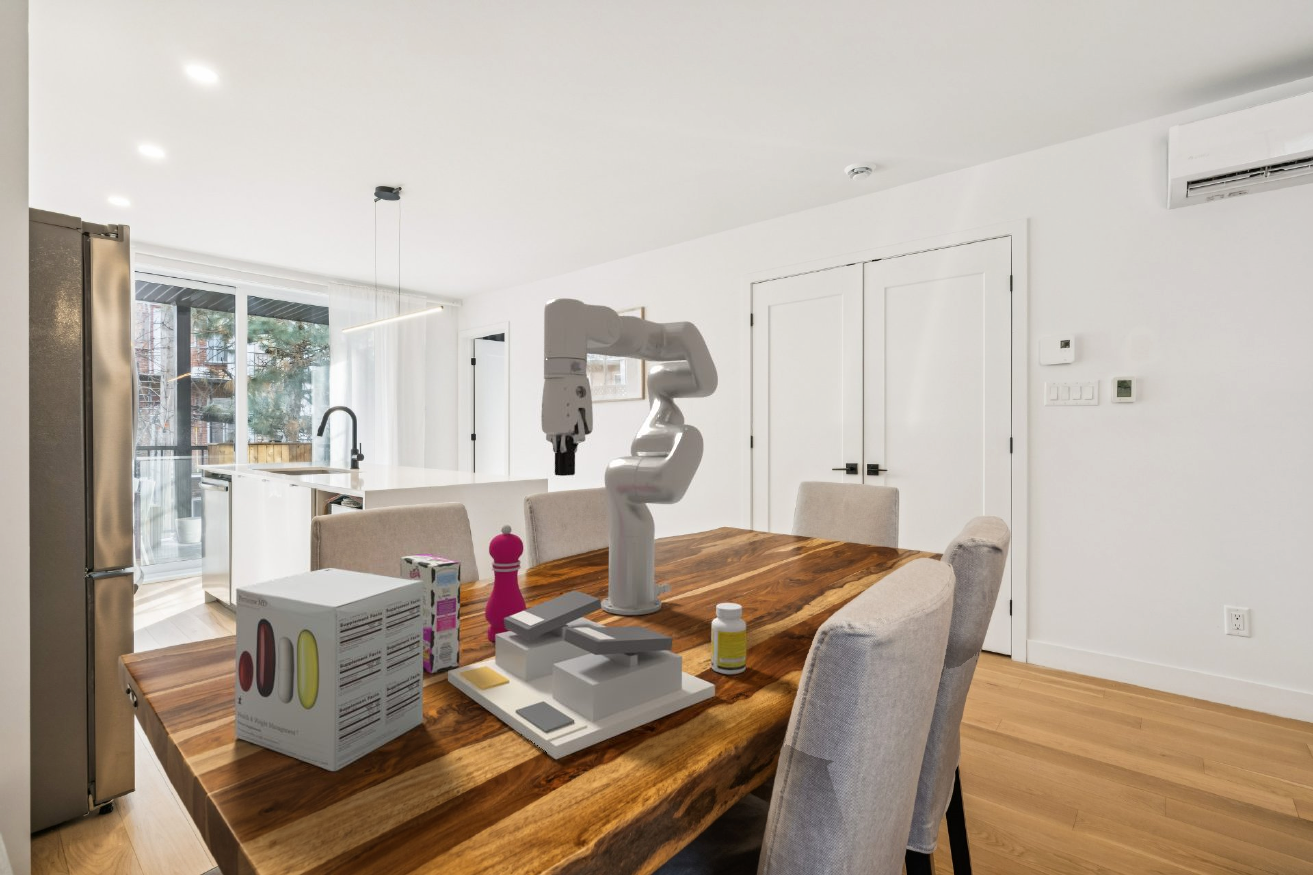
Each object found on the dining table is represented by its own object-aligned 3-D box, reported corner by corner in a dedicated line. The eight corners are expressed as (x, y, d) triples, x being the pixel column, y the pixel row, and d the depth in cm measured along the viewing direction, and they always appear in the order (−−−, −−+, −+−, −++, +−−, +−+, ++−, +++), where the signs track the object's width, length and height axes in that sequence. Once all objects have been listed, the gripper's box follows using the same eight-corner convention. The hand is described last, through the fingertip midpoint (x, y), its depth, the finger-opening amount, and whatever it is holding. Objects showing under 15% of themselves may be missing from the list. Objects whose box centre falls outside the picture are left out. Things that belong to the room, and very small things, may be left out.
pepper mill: (531, 631, 114) (532, 522, 114) (519, 644, 107) (519, 528, 107) (493, 629, 115) (494, 521, 115) (478, 642, 108) (479, 527, 108)
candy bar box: (461, 666, 97) (462, 561, 97) (431, 675, 93) (432, 566, 93) (427, 649, 105) (427, 551, 105) (397, 656, 101) (398, 555, 101)
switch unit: (592, 642, 109) (592, 599, 109) (714, 695, 87) (715, 641, 87) (446, 681, 91) (446, 630, 91) (553, 760, 69) (553, 693, 69)
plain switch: (638, 637, 91) (640, 624, 91) (671, 649, 85) (673, 636, 86) (564, 640, 82) (566, 627, 82) (595, 655, 77) (597, 640, 77)
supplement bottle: (753, 670, 96) (753, 607, 96) (725, 678, 93) (726, 612, 93) (731, 660, 101) (731, 599, 101) (704, 666, 98) (704, 604, 98)
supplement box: (229, 741, 73) (230, 587, 73) (329, 697, 85) (330, 566, 85) (333, 774, 66) (334, 605, 66) (426, 722, 78) (427, 579, 78)
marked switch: (576, 599, 103) (574, 589, 102) (601, 608, 97) (600, 597, 97) (505, 628, 94) (503, 617, 94) (529, 640, 89) (527, 628, 89)
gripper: (608, 369, 107) (607, 476, 107) (560, 375, 118) (559, 472, 118) (571, 366, 102) (570, 478, 102) (525, 372, 113) (524, 473, 113)
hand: (564, 474), depth 110 cm, fingers closed
